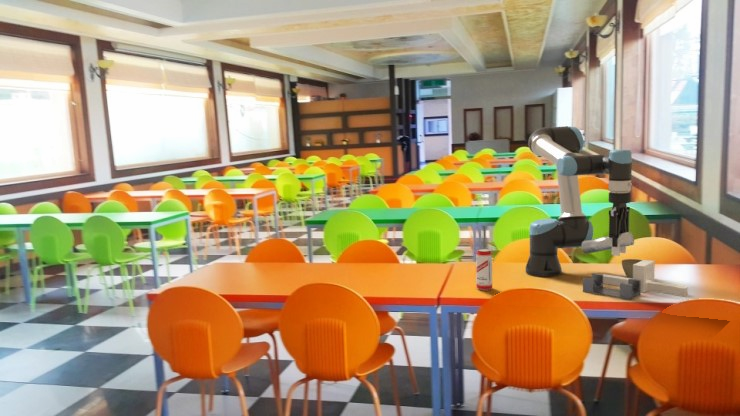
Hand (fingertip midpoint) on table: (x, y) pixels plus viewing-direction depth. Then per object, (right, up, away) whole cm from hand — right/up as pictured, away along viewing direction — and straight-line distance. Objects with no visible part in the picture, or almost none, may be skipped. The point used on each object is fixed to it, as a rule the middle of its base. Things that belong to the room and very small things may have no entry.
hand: (618, 253), depth 209 cm
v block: (-1, -15, +4) cm, 16 cm away
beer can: (-47, -16, +16) cm, 52 cm away
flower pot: (+17, -12, +23) cm, 31 cm away
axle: (-3, +4, +3) cm, 6 cm away
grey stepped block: (+13, -14, +8) cm, 21 cm away
